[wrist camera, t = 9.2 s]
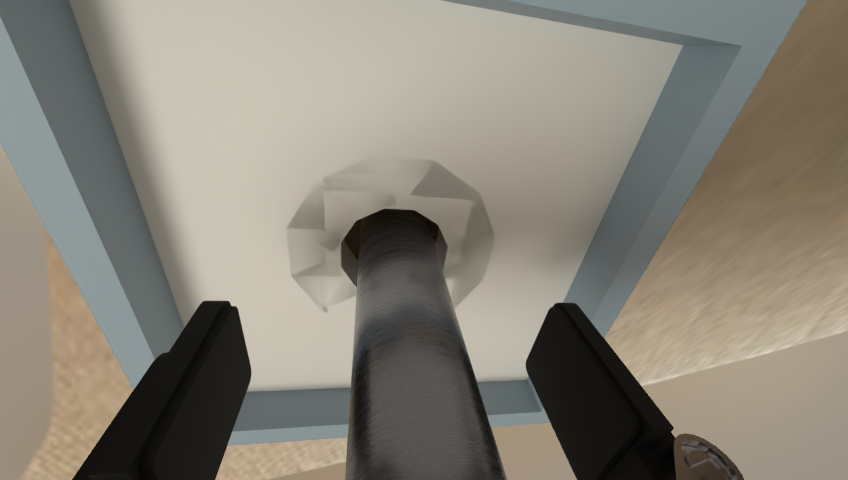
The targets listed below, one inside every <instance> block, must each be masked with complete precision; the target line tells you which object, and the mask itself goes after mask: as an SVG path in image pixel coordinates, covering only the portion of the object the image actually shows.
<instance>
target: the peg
mask: <svg viewBox="0 0 848 480" xmlns="http://www.w3.org/2000/svg"><path fill="white" fill-rule="evenodd" d="M345 480H507V478H506V475H505V472H504V469H503V465H502V462H501V459H500V455H499V452H498V449H497V445H496V442H495V439H494V436H493V433H492V429H491V426H490V423H489V420H488V416H487V413H486V410H485V407H484V403H483V400H482V397H481V394H480V390H479V387H478V384H477V381H476V377H475V374H474V371H473V368H472V364H471V361H470V358H469V355H468V351H467V348H466V345H465V342H464V339H463V335H462V332H461V329H460V326H459V322H458V319H457V316H456V313H455V309H454V306H453V303H452V300H451V296H450V293H449V290H448V287H447V283H446V280H445V277H444V274H443V270H442V267H441V264H440V261H439V258H438V254H437V251H436V248H435V245H434V241H433V238H432V235H431V232H430V228H429V225H428V222H427V219H426V217H425V216H423V215H422V214H420V213H418V212H417V211H415V210H402V209H386V208H384V209H382V210H380V211H377V212H375V213H373V214H370V215H368V216H366V217H364V218H363V220H362V223H361V228H360V243H359V259H358V276H357V293H356V309H355V326H354V343H353V359H352V376H351V393H350V409H349V426H348V442H347V459H346V477H345Z"/></svg>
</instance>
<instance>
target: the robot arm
mask: <svg viewBox="0 0 848 480" xmlns="http://www.w3.org/2000/svg"><path fill="white" fill-rule="evenodd" d="M526 371H527V373H528V376H529V378H530V380H531V382H532V384H533V386H534V388H535V391H536V393H537V395H538V397H539V399H540V401H541V403H542V406H543V408H544V410H545V412H546V414H547V416H548V418H549V421H550V423H551V425H552V427H553V429H554V431H555V433H556V436H557V438H558V440H559V442H560V444H561V446H562V448H563V450H564V453H565V455H566V457H567V459H568V461H569V463H570V465H571V468H572V470H573V472H574V474H575V476H576V478H577V480H744V478H743V476H742V474H741V472H740V471H739V470H738V468H737V467H736V465H735V464H734V463H733V462H732V461H731V460H730V459H729V458H728V456H727V455H726V454H724V453H723V452H722V451H721V450H720V449H718V448H717V447H716V446H715V445H713V444H711V443H710V442H708V441H706V440H705V439H703V438H700V437H698V436H695V435H691V434H681V435H678V436H677V437H676V438H675V437H674V436H673V434H672V433H671V431H672V430H673V426H672V425H671V424H670V422H669V421H668V420H667V419H666V417H665V416H664V415H663V413H662V412H661V411H660V410H659V408H658V407H657V406H656V405H655V403H654V402H653V401H652V399H651V398H650V397H649V396H648V394H647V393H646V392H645V391H644V389H643V388H642V387H641V385H640V384H639V383H638V381H637V380H636V379H635V378H634V376H633V375H632V374H631V372H630V371H629V370H628V369H627V367H626V366H625V365H624V364H623V362H622V361H621V360H620V358H619V357H618V356H617V355H616V353H615V352H614V351H613V349H612V348H611V347H610V346H609V344H608V343H607V342H606V340H605V339H604V338H603V337H602V335H601V334H600V333H599V331H598V330H597V329H596V328H595V326H594V325H593V324H592V323H591V321H590V320H589V319H588V317H587V316H586V315H585V314H584V312H583V311H582V310H581V308H580V307H579V306H578V305H577V304H576V303H555V304H554V306H553V307H551V308H550V309H549V310H548V313H547V315H546V317H545V319H544V322H543V324H542V326H541V328H540V331H539V333H538V335H537V337H536V340H535V342H534V344H533V346H532V349H531V351H530V353H529V355H528V358H527V360H526ZM250 380H251V365H250V361H249V356H248V352H247V347H246V343H245V338H244V334H243V329H242V325H241V320H240V316H239V311H238V308H237V307H236V306H231V303H230V302H229V301H203V302H202V303H201V304H200V305H199V307H198V308H197V310H196V311H195V313H194V314H193V316H192V317H191V319H190V320H189V322H188V323H187V325H186V326H185V328H184V329H183V331H182V332H181V334H180V335H179V337H178V339H177V340H176V342H175V343H174V345H173V346H172V348H171V349H170V351H169V352H166V353H162V354H161V355H159V356H158V357H157V358H156V359H155V360H154V361H153V363H152V364H151V365H150V367H149V368H148V370H147V371H146V373H145V374H144V376H143V377H142V379H141V380H140V382H139V383H138V384H137V386H136V387H135V389H134V390H133V392H132V393H131V395H130V396H129V398H128V399H127V400H126V402H125V403H124V405H123V406H122V408H121V409H120V411H119V412H118V414H117V415H116V417H115V418H114V419H113V421H112V422H111V424H110V425H109V427H108V428H107V430H106V431H105V433H104V434H103V435H102V437H101V438H100V440H99V441H98V443H97V444H96V446H95V447H94V449H93V450H92V452H91V453H90V454H89V456H88V457H87V459H86V460H85V462H84V463H83V465H82V466H81V468H80V469H79V470H78V472H77V473H76V475H75V476H74V478H73V479H72V480H215V478H216V475H217V473H218V470H219V467H220V464H221V461H222V459H223V456H224V453H225V450H226V448H227V445H228V442H229V439H230V436H231V434H232V431H233V428H234V425H235V423H236V420H237V417H238V414H239V411H240V409H241V406H242V403H243V400H244V398H245V395H246V392H247V389H248V386H249V384H250Z"/></svg>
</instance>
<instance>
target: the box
mask: <svg viewBox="0 0 848 480" xmlns="http://www.w3.org/2000/svg"><path fill="white" fill-rule="evenodd" d="M806 2H807V0H0V144H1V146H2V148H3V150H4V152H5V153H6V155H7V157H8V159H9V161H10V163H11V164H12V166H13V168H14V170H15V172H16V174H17V175H18V177H19V179H20V181H21V183H22V185H23V187H24V189H25V190H26V192H27V194H28V196H29V198H30V200H31V201H32V203H33V205H34V207H35V209H36V211H37V213H38V214H39V216H40V218H41V220H42V222H43V224H44V225H45V227H46V229H47V231H48V233H49V235H50V237H51V238H52V240H53V242H54V244H55V246H56V248H57V249H58V251H59V253H60V255H61V257H62V259H63V261H64V262H65V264H66V266H67V268H68V270H69V272H70V273H71V275H72V277H73V279H74V281H75V283H76V285H77V286H78V288H79V290H80V292H81V294H82V296H83V298H84V299H85V301H86V303H87V305H88V307H89V309H90V310H91V312H92V314H93V316H94V318H95V320H96V322H97V323H98V325H99V327H100V329H101V331H102V333H103V334H104V336H105V338H106V340H107V342H108V344H109V346H110V347H111V349H112V351H113V353H114V355H115V357H116V358H117V360H118V362H119V364H120V366H121V368H122V370H123V371H124V373H125V375H126V377H127V379H128V381H129V382H130V384H131V386H132V388H133V390H134V389H135V387H136V386H137V384H138V383H139V382H140V380H141V379H142V377H143V376H144V374H145V373H146V371H147V370H148V368H149V367H150V365H151V364H152V363H153V361H154V360H155V359H156V358H157V357H158V356H159V355H161V354H162V353H166V352H169V351H170V349H171V348H172V346H173V345H174V343H175V342H176V340H177V339H178V337H179V335H180V334H181V332H182V331H183V329H184V328H185V326H186V325H187V323H188V322H189V320H190V319H191V317H192V316H193V314H194V313H195V311H196V310H197V308H198V307H199V305H200V304H201V303H202V302H203V301H229V302H230V303H231V306H236V307H237V308H238V311H239V316H240V320H241V325H242V329H243V334H244V338H245V343H246V347H247V352H248V356H249V361H250V365H251V380H250V384H249V386H248V389H247V392H246V395H245V398H244V400H243V403H242V406H241V409H240V411H239V414H238V417H237V420H236V423H235V425H234V428H233V431H232V434H231V436H230V439H229V442H228V445H227V446H230V445H244V444H258V443H272V442H287V441H301V440H315V439H329V438H343V437H348V426H349V409H350V393H351V376H352V359H353V343H354V326H355V309H356V293H357V276H358V260H357V259H356V258H355V256H354V255H353V253H352V252H351V250H350V249H349V247H348V246H347V244H346V243H345V241H344V237H345V236H346V235H347V233H348V232H349V230H350V229H351V228H352V226H353V225H354V223H355V222H356V221H357V220H359V219H361V218H364V217H366V216H368V215H370V214H373V213H375V212H377V211H380V210H382V209H384V208H386V209H402V210H415V211H417V212H418V213H420V214H422V215H423V216H425V217H426V218H428V219H430V220H431V221H433V222H434V223H436V224H437V225H438V226H439V230H438V235H437V241H436V245H435V248H436V251H437V254H438V258H439V261H440V264H441V267H442V270H443V274H444V277H445V280H446V283H447V287H448V290H449V293H450V296H451V300H452V303H453V306H454V309H455V313H456V316H457V319H458V322H459V326H460V329H461V332H462V335H463V339H464V342H465V345H466V348H467V351H468V355H469V358H470V361H471V364H472V368H473V371H474V374H475V377H476V381H477V384H478V387H479V390H480V394H481V397H482V400H483V403H484V407H485V410H486V413H487V416H488V420H489V423H490V426H491V427H498V426H512V425H527V424H540V423H550V421H549V418H548V416H547V414H546V412H545V410H544V408H543V406H542V403H541V401H540V399H539V397H538V395H537V393H536V391H535V388H534V386H533V384H532V382H531V380H530V378H529V376H528V373H527V371H526V360H527V358H528V355H529V353H530V351H531V349H532V346H533V344H534V342H535V340H536V337H537V335H538V333H539V331H540V328H541V326H542V324H543V322H544V319H545V317H546V315H547V313H548V310H549V309H550V308H551V307H553V306H554V304H555V303H576V304H577V305H578V306H579V307H580V308H581V310H582V311H583V312H584V314H585V315H586V316H587V317H588V319H589V320H590V321H591V323H592V324H593V325H594V326H595V328H596V329H597V330H598V331H599V333H600V334H601V335H602V337H603V338H605V336H606V334H607V333H608V331H609V329H610V328H611V326H612V324H613V323H614V321H615V319H616V318H617V316H618V314H619V313H620V311H621V309H622V308H623V306H624V304H625V303H626V301H627V299H628V298H629V296H630V294H631V293H632V291H633V289H634V288H635V286H636V284H637V283H638V281H639V279H640V278H641V276H642V274H643V273H644V271H645V269H646V268H647V266H648V264H649V263H650V261H651V259H652V258H653V256H654V254H655V253H656V251H657V249H658V248H659V246H660V244H661V243H662V241H663V239H664V238H665V236H666V234H667V233H668V231H669V229H670V228H671V226H672V224H673V223H674V221H675V219H676V218H677V216H678V214H679V213H680V211H681V209H682V208H683V206H684V205H685V203H686V201H687V200H688V198H689V196H690V195H691V193H692V191H693V190H694V188H695V186H696V185H697V183H698V181H699V180H700V178H701V176H702V175H703V173H704V171H705V170H706V168H707V166H708V165H709V163H710V161H711V160H712V158H713V156H714V155H715V153H716V151H717V150H718V148H719V146H720V145H721V143H722V141H723V140H724V138H725V136H726V135H727V133H728V131H729V130H730V128H731V126H732V125H733V123H734V121H735V120H736V118H737V116H738V115H739V113H740V111H741V110H742V108H743V106H744V105H745V103H746V101H747V100H748V98H749V96H750V95H751V93H752V91H753V90H754V88H755V86H756V85H757V83H758V81H759V80H760V78H761V76H762V75H763V73H764V71H765V70H766V68H767V66H768V65H769V63H770V61H771V60H772V58H773V56H774V55H775V53H776V52H777V50H778V48H779V47H780V45H781V43H782V42H783V40H784V38H785V37H786V35H787V33H788V32H789V30H790V28H791V27H792V25H793V23H794V22H795V20H796V18H797V17H798V15H799V13H800V12H801V10H802V8H803V7H804V5H805V3H806Z"/></svg>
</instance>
